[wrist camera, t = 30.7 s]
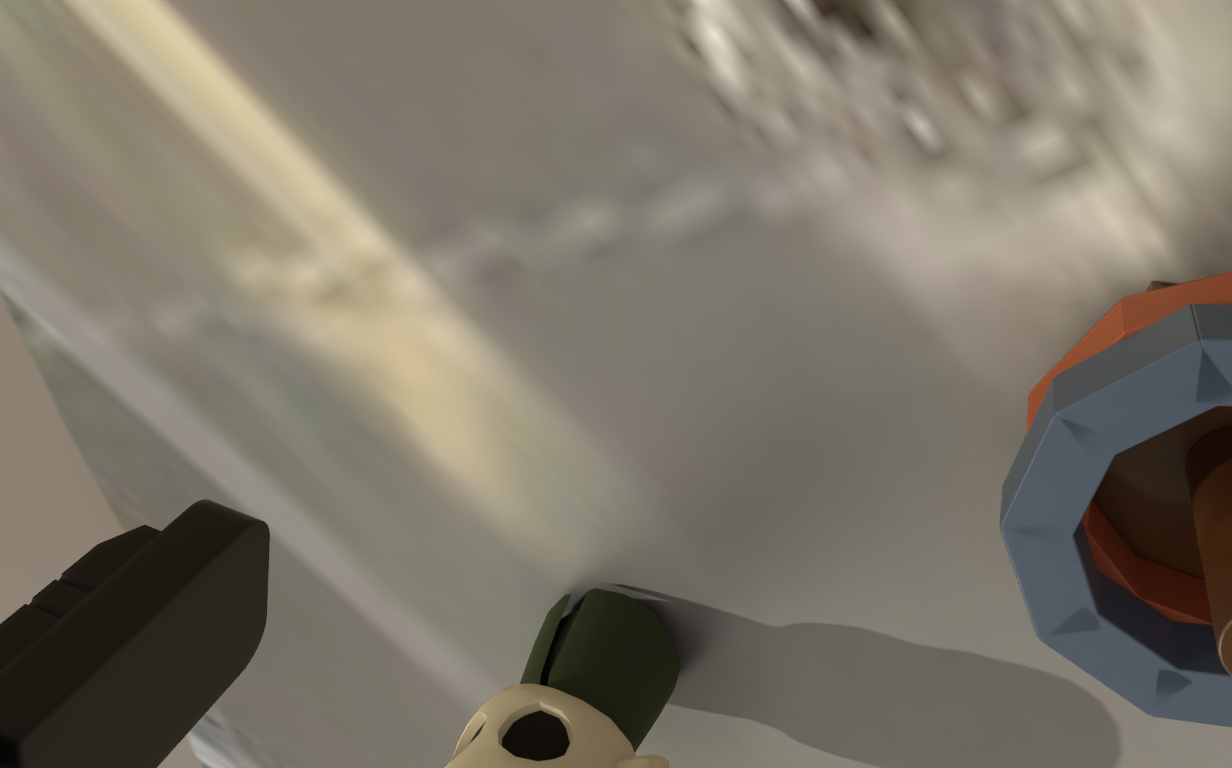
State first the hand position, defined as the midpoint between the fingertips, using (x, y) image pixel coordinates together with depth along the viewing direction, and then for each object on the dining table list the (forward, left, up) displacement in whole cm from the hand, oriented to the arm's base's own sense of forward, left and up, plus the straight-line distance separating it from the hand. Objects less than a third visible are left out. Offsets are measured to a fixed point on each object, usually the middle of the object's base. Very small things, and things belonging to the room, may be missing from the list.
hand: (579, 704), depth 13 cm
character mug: (+26, -4, -28) cm, 39 cm away
